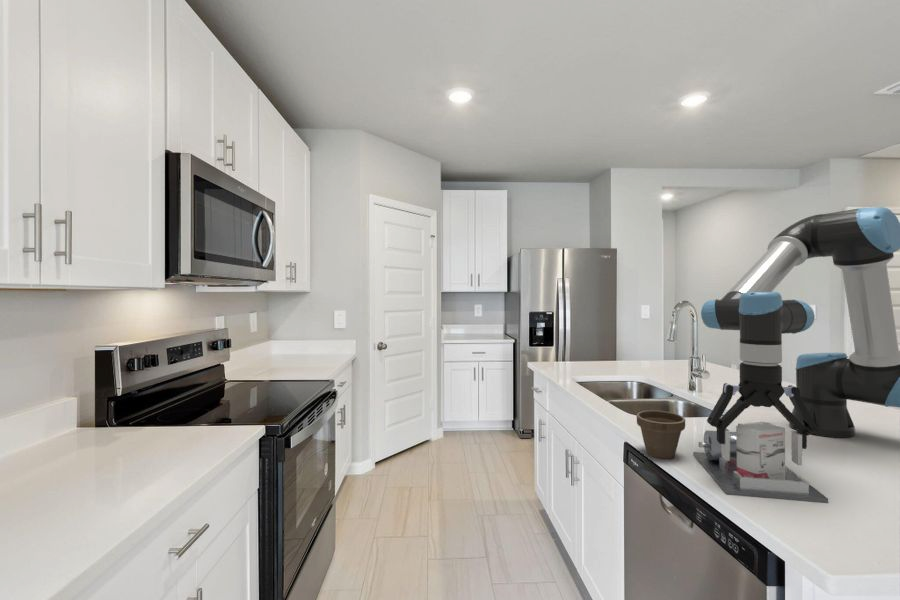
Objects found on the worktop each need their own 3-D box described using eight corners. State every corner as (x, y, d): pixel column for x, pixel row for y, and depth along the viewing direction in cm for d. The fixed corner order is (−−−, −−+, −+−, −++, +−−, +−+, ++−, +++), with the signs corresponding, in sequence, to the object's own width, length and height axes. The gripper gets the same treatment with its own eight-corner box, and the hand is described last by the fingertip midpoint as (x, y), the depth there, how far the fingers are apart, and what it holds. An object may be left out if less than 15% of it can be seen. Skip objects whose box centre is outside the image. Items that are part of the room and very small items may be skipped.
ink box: (755, 487, 93) (755, 430, 93) (734, 478, 98) (734, 424, 98) (786, 481, 96) (786, 426, 96) (764, 473, 100) (764, 421, 100)
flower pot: (683, 466, 107) (683, 424, 107) (633, 457, 113) (632, 418, 113) (687, 451, 117) (687, 413, 117) (640, 444, 123) (640, 408, 123)
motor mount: (773, 460, 110) (773, 421, 110) (828, 502, 88) (828, 454, 88) (693, 455, 114) (693, 417, 114) (726, 494, 92) (725, 447, 92)
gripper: (817, 361, 97) (817, 458, 97) (691, 359, 103) (692, 450, 103) (838, 367, 90) (838, 472, 90) (702, 364, 96) (702, 462, 96)
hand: (760, 461), depth 97 cm, fingers open, 13 cm apart
